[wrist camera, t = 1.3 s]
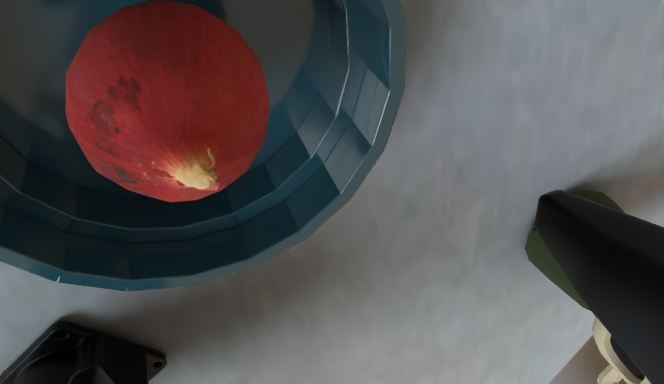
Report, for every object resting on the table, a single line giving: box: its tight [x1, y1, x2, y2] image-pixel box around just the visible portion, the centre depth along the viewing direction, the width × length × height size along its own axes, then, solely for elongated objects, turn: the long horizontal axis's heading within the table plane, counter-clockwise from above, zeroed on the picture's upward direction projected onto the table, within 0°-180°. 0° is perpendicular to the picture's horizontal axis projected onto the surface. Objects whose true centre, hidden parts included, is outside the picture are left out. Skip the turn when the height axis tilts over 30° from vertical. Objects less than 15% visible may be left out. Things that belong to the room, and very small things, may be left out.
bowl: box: [0, 0, 406, 291], centre depth 17 cm, size 15×15×4 cm
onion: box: [66, 0, 270, 202], centre depth 16 cm, size 6×6×8 cm
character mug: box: [525, 191, 651, 384], centre depth 29 cm, size 11×7×13 cm, turn 155°
